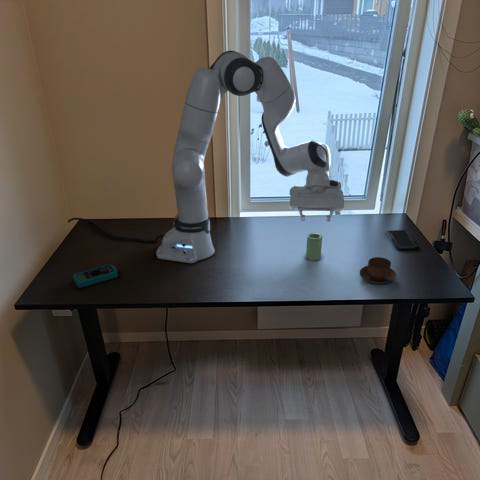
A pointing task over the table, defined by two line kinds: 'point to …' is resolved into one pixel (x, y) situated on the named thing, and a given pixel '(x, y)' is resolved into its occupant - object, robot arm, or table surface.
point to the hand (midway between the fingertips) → (315, 220)
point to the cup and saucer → (378, 271)
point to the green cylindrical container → (314, 246)
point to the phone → (401, 239)
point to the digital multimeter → (95, 276)
